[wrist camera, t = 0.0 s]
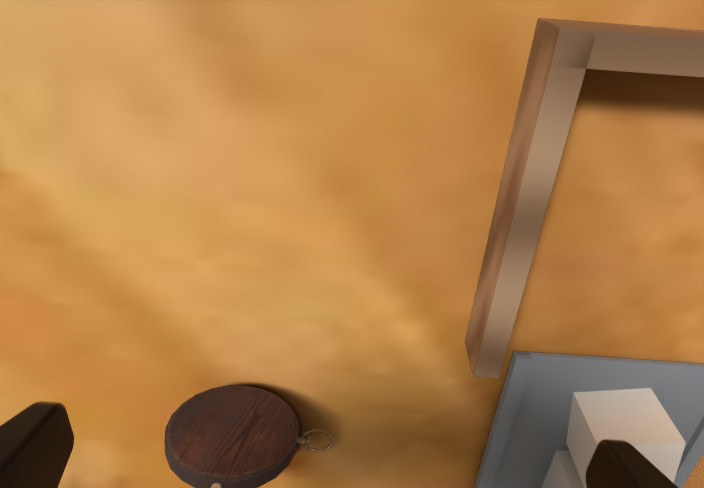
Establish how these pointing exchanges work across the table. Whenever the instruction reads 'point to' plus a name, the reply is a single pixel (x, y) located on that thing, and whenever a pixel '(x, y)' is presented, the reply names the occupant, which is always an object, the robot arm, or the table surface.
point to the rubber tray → (555, 406)
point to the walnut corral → (553, 155)
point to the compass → (234, 438)
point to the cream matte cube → (562, 472)
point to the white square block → (623, 427)
